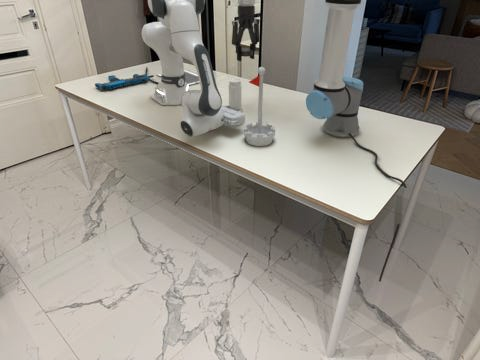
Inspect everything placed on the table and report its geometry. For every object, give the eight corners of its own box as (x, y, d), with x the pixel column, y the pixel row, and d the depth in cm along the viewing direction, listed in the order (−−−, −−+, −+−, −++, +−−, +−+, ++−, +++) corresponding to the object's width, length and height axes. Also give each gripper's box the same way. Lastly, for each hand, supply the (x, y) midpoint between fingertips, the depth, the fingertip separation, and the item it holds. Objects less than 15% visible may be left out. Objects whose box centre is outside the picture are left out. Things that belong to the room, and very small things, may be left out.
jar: (233, 119, 160) (232, 77, 149) (243, 122, 158) (243, 79, 147) (227, 124, 156) (226, 81, 145) (237, 126, 154) (237, 83, 143)
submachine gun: (139, 68, 225) (158, 74, 208) (140, 74, 226) (158, 80, 210) (87, 78, 206) (103, 86, 189) (89, 84, 208) (104, 92, 191)
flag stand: (266, 131, 149) (269, 61, 133) (280, 143, 139) (285, 69, 122) (239, 136, 145) (238, 64, 129) (250, 149, 135) (252, 73, 118)
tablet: (156, 75, 222) (156, 74, 221) (183, 69, 233) (183, 69, 233) (183, 86, 201) (183, 86, 201) (210, 80, 212) (210, 79, 212)
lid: (242, 57, 155) (242, 51, 154) (236, 53, 160) (236, 48, 159) (255, 55, 158) (255, 50, 156) (249, 52, 163) (249, 47, 161)
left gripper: (231, 117, 138) (253, 107, 146) (198, 104, 149) (220, 97, 158) (231, 131, 141) (253, 121, 150) (199, 118, 153) (221, 109, 161)
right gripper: (259, 2, 155) (257, 55, 167) (222, 5, 145) (223, 60, 158) (269, 4, 149) (266, 58, 162) (231, 7, 140) (232, 64, 153)
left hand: (236, 108), depth 154 cm, fingers closed on jar, 5 cm apart
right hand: (245, 59), depth 160 cm, fingers closed on lid, 7 cm apart
